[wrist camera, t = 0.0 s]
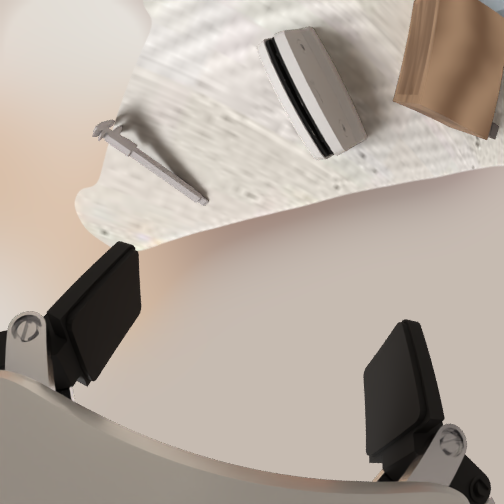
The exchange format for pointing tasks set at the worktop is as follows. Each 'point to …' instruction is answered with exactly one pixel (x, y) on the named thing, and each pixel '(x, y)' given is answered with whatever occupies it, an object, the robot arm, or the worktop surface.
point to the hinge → (311, 92)
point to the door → (495, 5)
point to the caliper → (144, 159)
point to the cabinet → (454, 64)
